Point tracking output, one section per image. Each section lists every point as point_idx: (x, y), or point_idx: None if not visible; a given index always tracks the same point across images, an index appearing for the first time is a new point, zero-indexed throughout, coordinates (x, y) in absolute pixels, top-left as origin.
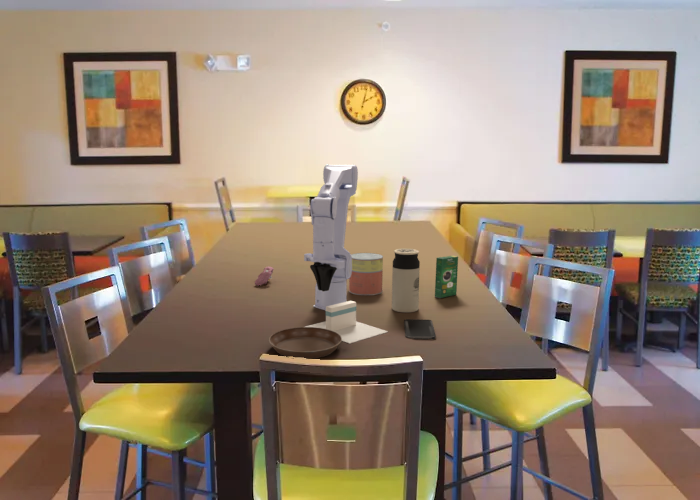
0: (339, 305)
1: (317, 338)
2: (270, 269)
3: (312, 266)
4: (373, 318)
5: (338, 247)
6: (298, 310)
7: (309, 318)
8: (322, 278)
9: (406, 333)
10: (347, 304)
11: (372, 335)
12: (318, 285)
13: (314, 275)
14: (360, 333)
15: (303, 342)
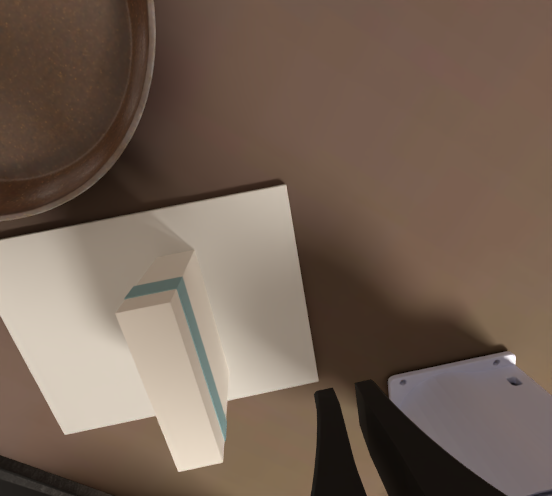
0: (154, 378)
1: (82, 150)
2: None
3: None
4: (253, 459)
5: None
6: (517, 283)
7: (395, 271)
8: (323, 492)
9: (7, 471)
10: (158, 421)
11: (36, 370)
12: (375, 405)
13: (466, 471)
14: (81, 345)
15: (50, 51)
